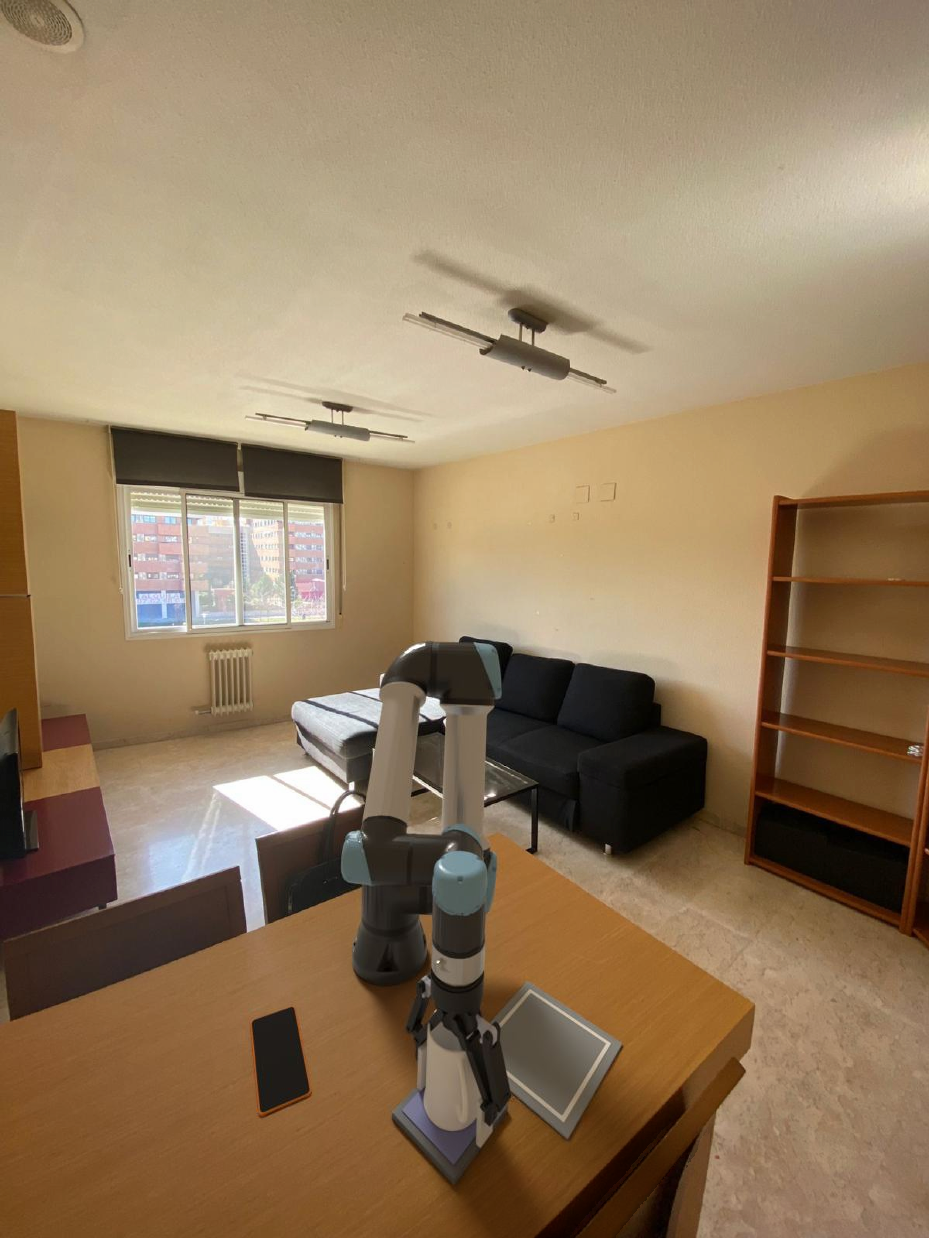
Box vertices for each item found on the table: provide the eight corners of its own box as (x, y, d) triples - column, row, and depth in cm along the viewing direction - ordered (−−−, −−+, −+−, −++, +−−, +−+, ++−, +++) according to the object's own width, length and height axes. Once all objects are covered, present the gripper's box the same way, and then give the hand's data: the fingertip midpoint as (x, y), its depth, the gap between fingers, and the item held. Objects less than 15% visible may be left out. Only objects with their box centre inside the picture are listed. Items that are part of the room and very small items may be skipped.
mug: (489, 1155, 68) (493, 1075, 66) (426, 1162, 66) (429, 1081, 65) (476, 1067, 79) (479, 998, 78) (422, 1073, 78) (424, 1002, 77)
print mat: (464, 1052, 83) (464, 1050, 83) (527, 982, 97) (527, 980, 97) (567, 1140, 71) (567, 1137, 71) (622, 1044, 85) (622, 1042, 85)
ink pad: (391, 1117, 73) (391, 1110, 73) (447, 1057, 82) (447, 1050, 82) (454, 1185, 65) (454, 1177, 65) (507, 1110, 74) (508, 1103, 74)
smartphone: (258, 1120, 72) (258, 1115, 72) (249, 1024, 87) (249, 1019, 87) (313, 1096, 76) (313, 1091, 75) (295, 1008, 90) (295, 1003, 90)
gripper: (382, 941, 75) (380, 1074, 77) (509, 1036, 60) (503, 1198, 63) (418, 915, 81) (415, 1040, 83) (542, 996, 66) (535, 1146, 68)
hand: (453, 1108), depth 73 cm, fingers open, 11 cm apart
